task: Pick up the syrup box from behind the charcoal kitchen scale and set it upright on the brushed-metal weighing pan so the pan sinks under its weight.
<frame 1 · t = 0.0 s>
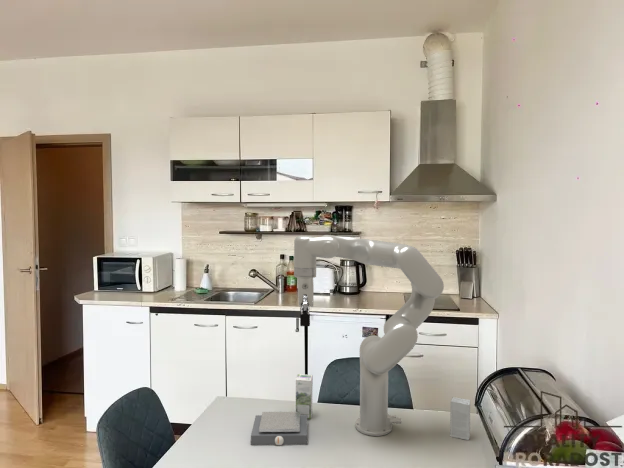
hand: (304, 322, 148), 37 cm above the table, tool pointing down, fingers open, 9 cm apart
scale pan: (280, 421, 146), point 4 cm above the table, slide at 0.5 cm
syrup box: (304, 416, 159), on the table
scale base: (280, 433, 146), on the table
skincare box: (460, 436, 145), on the table
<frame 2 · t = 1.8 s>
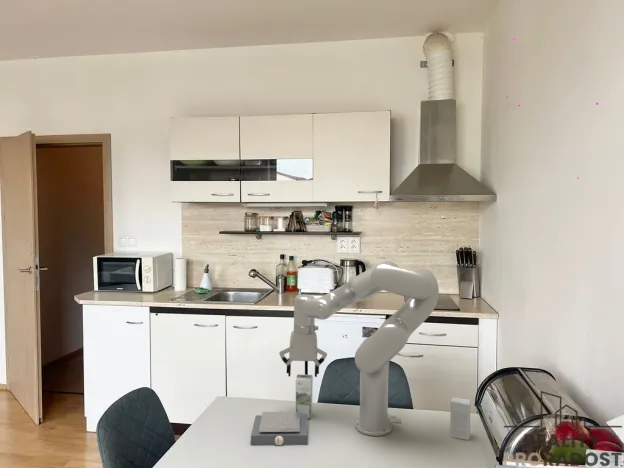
hand: (302, 375, 159), 15 cm above the table, tool pointing down, fingers open, 9 cm apart
nothing on the table moved.
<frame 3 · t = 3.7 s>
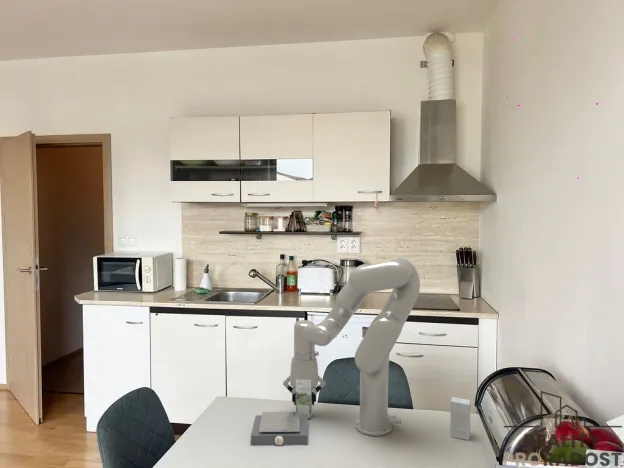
hand: (304, 403, 159), 5 cm above the table, tool pointing down, fingers closed on syrup box, 6 cm apart
syrup box: (304, 416, 159), on the table, touching gripper
everything else where it was.
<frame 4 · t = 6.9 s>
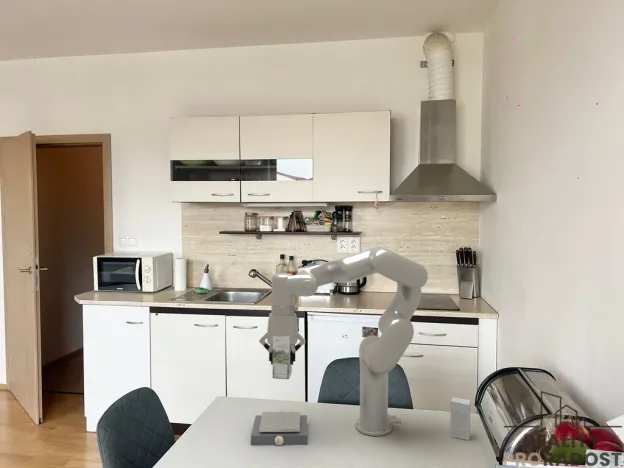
hand: (282, 362, 146), 24 cm above the table, tool pointing down, fingers closed on syrup box, 6 cm apart
syrup box: (282, 376, 146), point 19 cm above the table, touching gripper
everything else where it was.
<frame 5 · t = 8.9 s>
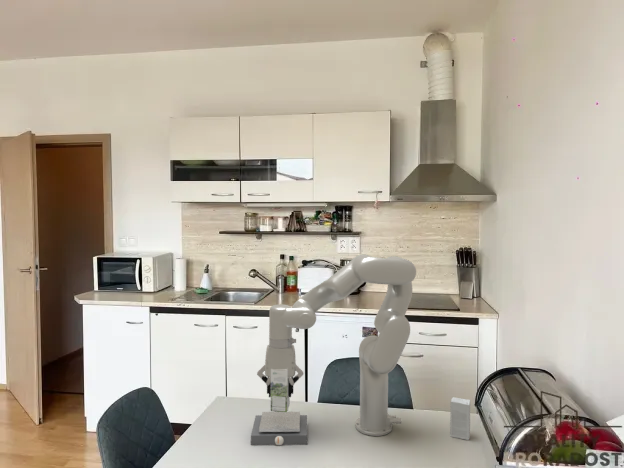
hand: (280, 395, 145), 13 cm above the table, tool pointing down, fingers closed on syrup box, 6 cm apart
syrup box: (280, 409, 145), point 8 cm above the table, touching gripper
everything else where it was.
when the fingers open (11 cm above the table, at t = 10.2 s): syrup box drops 2 cm, resting on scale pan.
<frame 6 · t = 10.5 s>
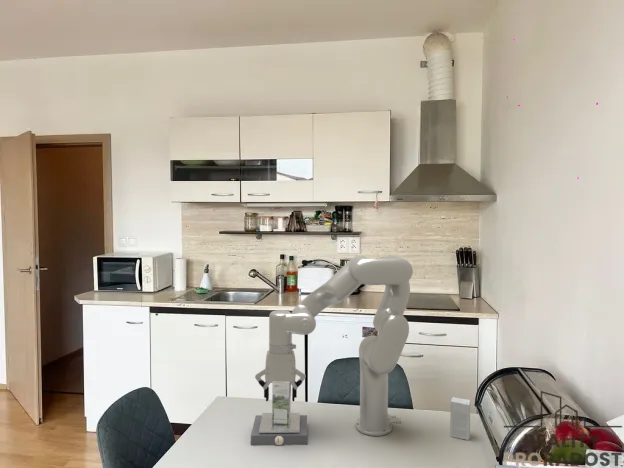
hand: (280, 399, 145), 12 cm above the table, tool pointing down, fingers open, 8 cm apart
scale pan: (280, 422, 146), point 4 cm above the table, slide at 0.9 cm, touching syrup box
syrup box: (281, 421, 146), point 4 cm above the table, touching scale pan
everything else where it was.
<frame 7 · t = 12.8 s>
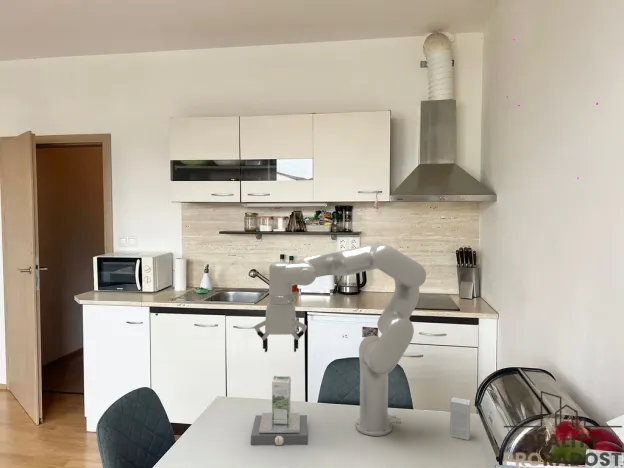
hand: (280, 350, 145), 28 cm above the table, tool pointing down, fingers open, 9 cm apart
nothing on the table moved.
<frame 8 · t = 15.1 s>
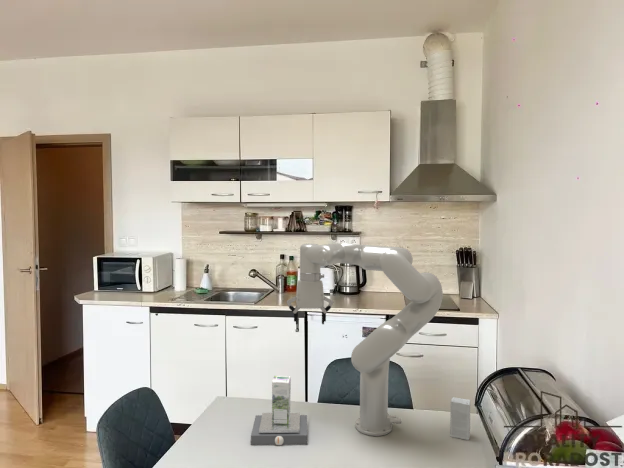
hand: (309, 323, 160), 33 cm above the table, tool pointing down, fingers open, 9 cm apart
nothing on the table moved.
at the end: syrup box inside the target area on the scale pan (0.3 cm from its centre), point 5.0 cm above the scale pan's base; syrup box tilted 0°; syrup box touching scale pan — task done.
